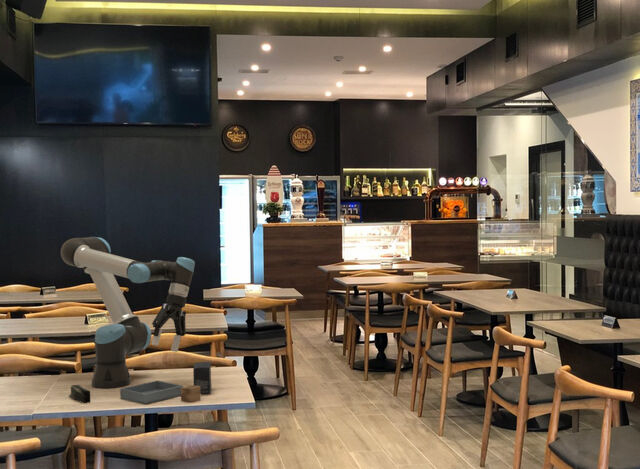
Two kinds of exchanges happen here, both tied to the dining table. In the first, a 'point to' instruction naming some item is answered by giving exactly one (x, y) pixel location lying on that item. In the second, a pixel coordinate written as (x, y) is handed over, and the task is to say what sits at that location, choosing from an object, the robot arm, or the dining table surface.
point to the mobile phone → (80, 393)
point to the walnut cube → (190, 393)
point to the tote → (151, 392)
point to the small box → (202, 376)
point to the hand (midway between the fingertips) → (164, 348)
